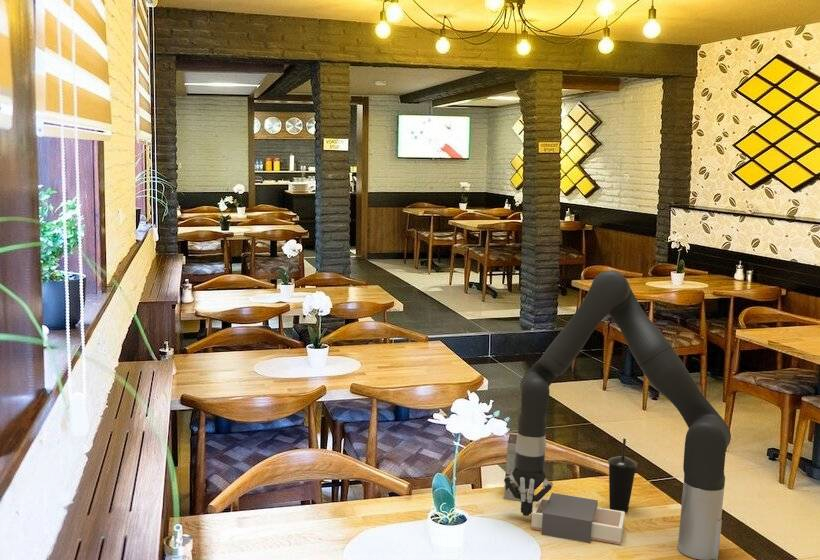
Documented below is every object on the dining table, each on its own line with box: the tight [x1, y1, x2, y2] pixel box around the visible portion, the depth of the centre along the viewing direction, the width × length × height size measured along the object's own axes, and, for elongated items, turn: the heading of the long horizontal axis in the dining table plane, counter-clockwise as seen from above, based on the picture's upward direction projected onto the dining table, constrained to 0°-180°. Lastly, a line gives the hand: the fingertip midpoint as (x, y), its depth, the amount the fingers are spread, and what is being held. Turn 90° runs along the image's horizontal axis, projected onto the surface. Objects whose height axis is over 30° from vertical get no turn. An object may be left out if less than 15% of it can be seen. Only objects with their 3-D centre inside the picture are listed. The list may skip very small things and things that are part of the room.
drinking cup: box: [607, 438, 638, 514], centre depth 220 cm, size 8×8×20 cm
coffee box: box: [503, 433, 529, 501], centre depth 228 cm, size 9×6×16 cm
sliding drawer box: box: [530, 497, 626, 546], centre depth 207 cm, size 22×11×4 cm, turn 71°
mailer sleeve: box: [540, 492, 599, 544], centre depth 208 cm, size 12×14×6 cm
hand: (526, 514), depth 212 cm, fingers closed
